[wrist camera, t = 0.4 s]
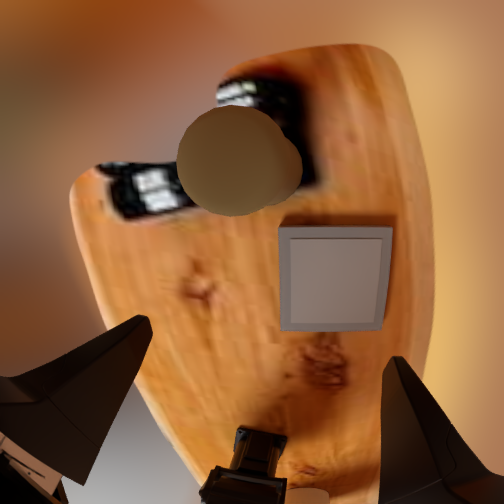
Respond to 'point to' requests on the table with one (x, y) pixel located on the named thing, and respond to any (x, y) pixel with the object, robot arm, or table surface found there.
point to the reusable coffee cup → (306, 496)
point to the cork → (237, 161)
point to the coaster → (333, 277)
